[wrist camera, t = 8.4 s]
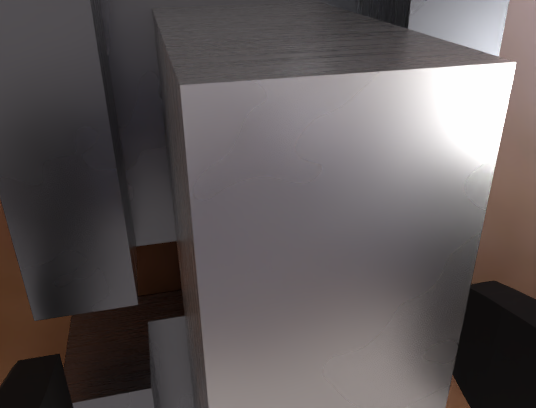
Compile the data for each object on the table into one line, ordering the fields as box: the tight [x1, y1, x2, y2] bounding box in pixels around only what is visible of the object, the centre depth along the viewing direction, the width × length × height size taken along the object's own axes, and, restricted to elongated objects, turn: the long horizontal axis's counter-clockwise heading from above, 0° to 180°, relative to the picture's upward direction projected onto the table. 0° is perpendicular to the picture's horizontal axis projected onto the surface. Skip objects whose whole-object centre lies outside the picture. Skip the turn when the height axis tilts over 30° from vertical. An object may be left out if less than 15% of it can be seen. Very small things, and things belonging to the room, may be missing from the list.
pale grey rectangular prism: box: [152, 2, 516, 408], centre depth 9 cm, size 3×11×6 cm, turn 0°
